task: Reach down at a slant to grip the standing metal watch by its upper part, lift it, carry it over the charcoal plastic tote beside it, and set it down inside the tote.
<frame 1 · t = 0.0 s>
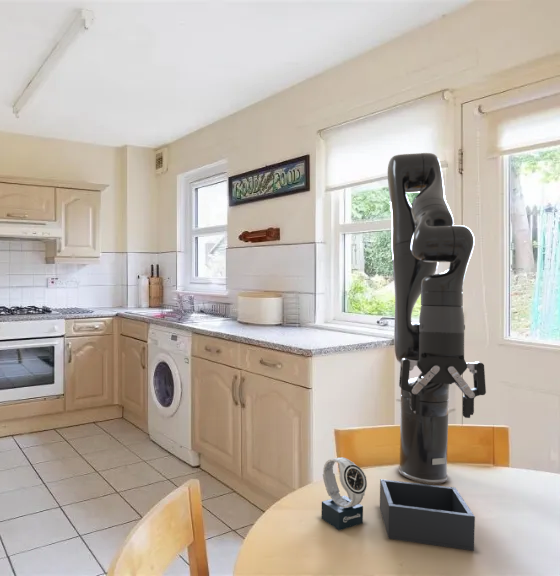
hand: (440, 415, 91), 17 cm above the table, tool pointing down, fingers open, 8 cm apart
watch: (342, 522, 85), on the table
tote: (422, 527, 83), on the table
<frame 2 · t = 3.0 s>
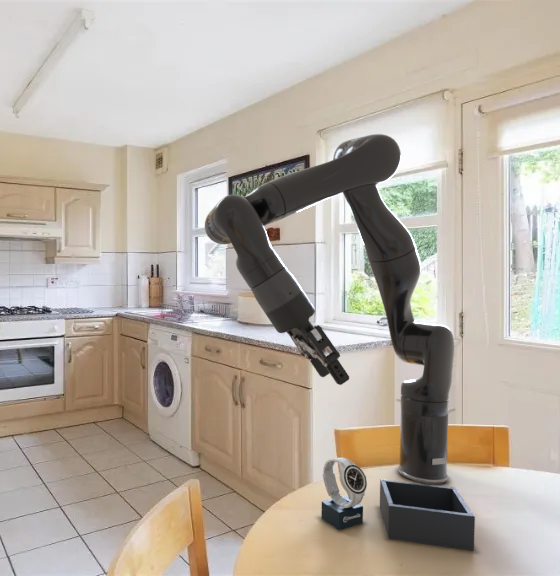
hand: (334, 378, 82), 26 cm above the table, tool tilted 35°, fingers open, 8 cm apart
nothing on the table moved.
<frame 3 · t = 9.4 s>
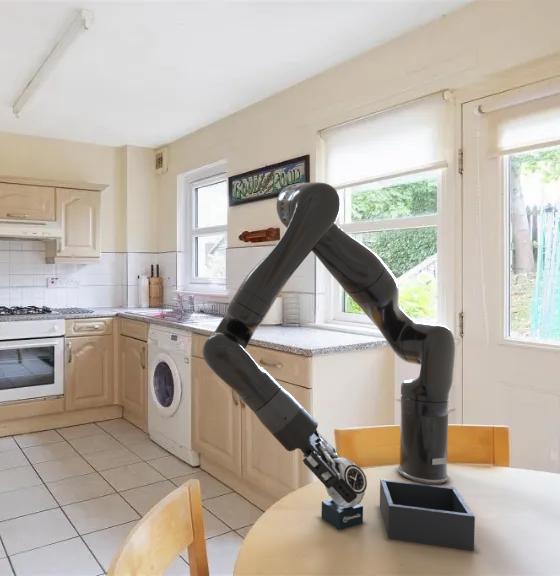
hand: (351, 488, 84), 6 cm above the table, tool tilted 45°, fingers closed on watch, 7 cm apart
watch: (342, 522, 85), on the table, touching gripper
when the fingers open (7 cm above the table, at t = 17.5 s): watch stays where it is, resting on tote.
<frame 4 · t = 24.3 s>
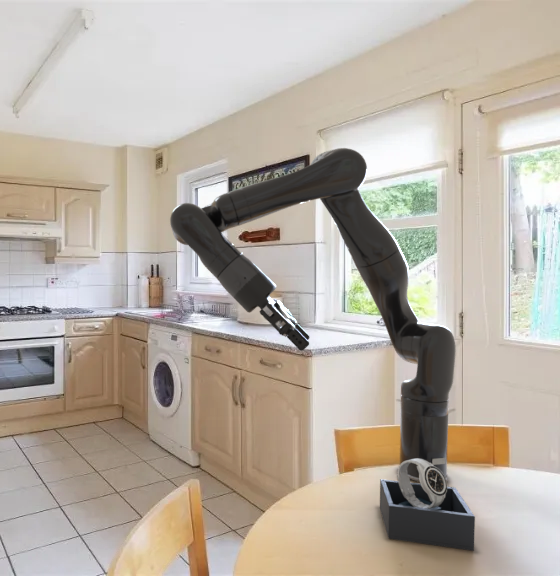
hand: (306, 344, 90), 31 cm above the table, tool tilted 45°, fingers open, 8 cm apart
watch: (419, 524, 83), resting on tote
at the end: watch inside the target area in the tote (0.5 cm from its centre), point 0.4 cm above the tote's base; watch tilted 0°; the gripper is holding nothing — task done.
